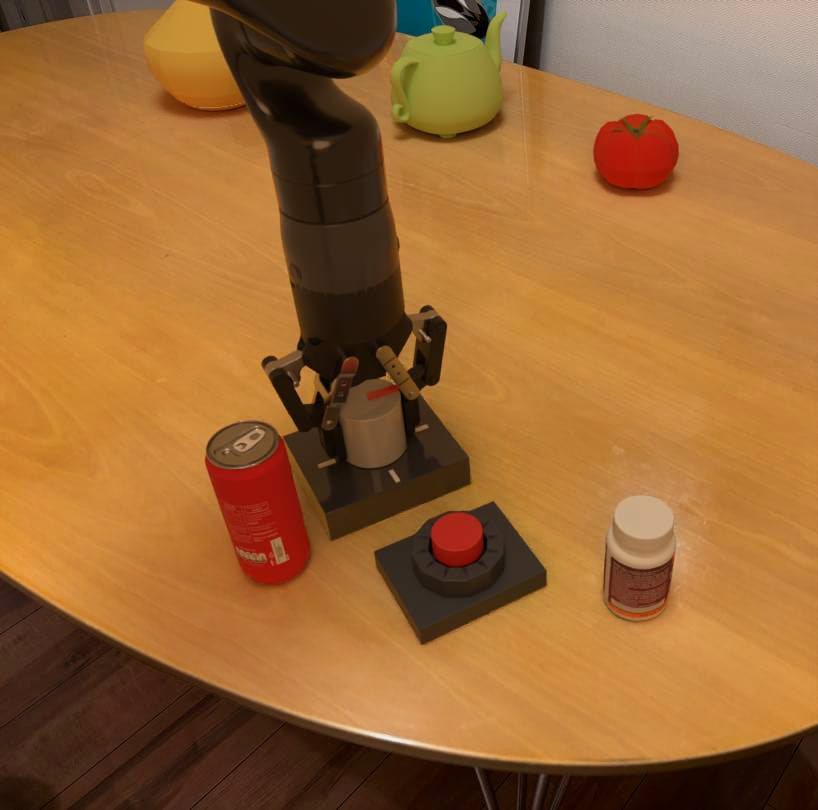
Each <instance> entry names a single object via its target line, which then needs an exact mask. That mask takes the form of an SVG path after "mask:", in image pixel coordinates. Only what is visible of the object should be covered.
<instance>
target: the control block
mask: <svg viewBox="0 0 818 810" xmlns="http://www.w3.org/2000/svg"><path fill="white" fill-rule="evenodd" d="M451 513H466V514H469V515H472V516H474V517H475V518H476V519H477V520H478V521H479V522H480V523H481V526H482V530H483V552H482V554H481V556H480V557H479V558H478V559H477V560H476V561H475V562H473V563H472V564H470V565H467V566H464V567H450V566H446V565H444V564H442V563H440V562H439V561H438V560H437V559H436V557H435V556H434V553H433V547H432V538H431V530H432V527H433V525H434V524H435V522H436V521H437V520H438V519H440V518H441V517H443V516H445V515H447V514H451ZM373 554H374V560H375V565H376V568H377V570H378V572H379V573H380V575H381V576H382V579H383V580H384V582H385V584H386V585H387V587H388V589H389V591H390V592H391V594H392V596H393V598H394V599H395V601H396V602H397V604H398V606H399V609H400V610H401V612H402V613H403V615H404V616H405V618H406V620H407V622H408V623H409V625H410V627H411V629H412V631H413V632H414V634H415V636H416V638H417V639H418V641H419V642H420V644H421V645H424V644H426V643H428V642H431V641H433V640H435V639H436V638H439V637H441V636H444V635H445V634H447V633H450V632H451V631H454V630H456V629H458V628H460V627H462V626H464V625H466V624H468V623H471V622H472V621H475V620H477V619H479V618H481V617H483V616H485V615H487V614H489V613H491V612H493V611H495V610H498V609H500V608H502V607H504V606H506V605H508V604H510V603H512V602H514V601H516V600H518V599H521V598H522V597H525V596H527V595H529V594H531V593H534V592H536V591H537V590H539V589H541V588H543V587H545V586H547V579H548V577H547V576H548V575H547V573H548V570H547V569H546V568H545V566H544V565H543V564H542V562H541V561H540V560H539V559H538V557H537V555H536V554H535V553H534V552H533V550H532V549H531V548H530V546H529V545H528V544H527V543H526V541H525V540H524V538H523V537H522V536H521V535H520V533H519V532H518V530H517V529H516V528H515V527H514V526H513V524H512V523H511V522H510V520H509V519H508V518H507V516H506V515H505V513H504V512H503V511H502V510H501V508H500V507H499V506H498V504H497V503H496V502H495V500H492V501H489V502H487V503H485V504H483V505H480V506H478V507H475V508H473V509H471V510H448V511H445V512H443V513H441V514H438V515H435V516H433V517H431V518H428V519H427V520H426V521H424V523H423V524H422V525H421V526H420V528H419V529H418V530H417V531H416V532H415V533H414V534H412V535H409V536H407V537H405V538H402V539H399V540H397V541H395V542H392V543H390V544H388V545H386V546H384V547H380V548H378V549H376V550H374V551H373Z"/></svg>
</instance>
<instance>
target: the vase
mask: <svg viewBox="0 0 818 810" xmlns="http://www.w3.org/2000/svg"><path fill="white" fill-rule="evenodd" d="M142 52H143V55H144V58H145V62H146V64H147V68H148V70H149V72H151V74H152V75H153V76H154V78H155V79H156V80H157V82H158V83H159V85H160V86H161V88H163V90H165V91H166V92H167V93H169V94H170V95H172V96H173V98H175V99H176V100H178V102H180V103H182V104H184V103H185V104H184V105H186V106H188V107H191V108H193V109H195V110H200V111H206V112H208V111H209V112H217V111H227V110H233V109H238V108H241V107H243V106H246V104H245V102H244V100H243V98H242V95H241V93H240V91H239V89H238V87H237V85H236V83H235V80H234V78H233V76H232V74H231V72H230V70H229V67H228V65H227V63H226V61H225V59H224V56H223V54H222V51H221V49H220V46H219V44H218V41H217V38H216V35H215V32H214V29H213V25H212V21H211V16H210V11H209V7H208V6H204V5H201V4H198V3H194V2H191V1H188V0H174V1H173V3H172V4H171V5H170V7H168V9H167V10H166V11H165V12H164V13H163V15H161V16H160V18H159V19H158V20H157V21H156V22H155V23H154V24H153V25H152V26H151V27H150V28H149V29H148V30H147V31H146V32H145V35H144V36H143V40H142ZM243 102H244V103H243ZM239 103H241V104H239ZM235 104H237V105H235ZM189 105H191V106H189ZM230 105H233V106H230ZM193 106H196V107H193ZM222 106H228V107H222ZM199 107H221V108H199Z"/></svg>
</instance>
